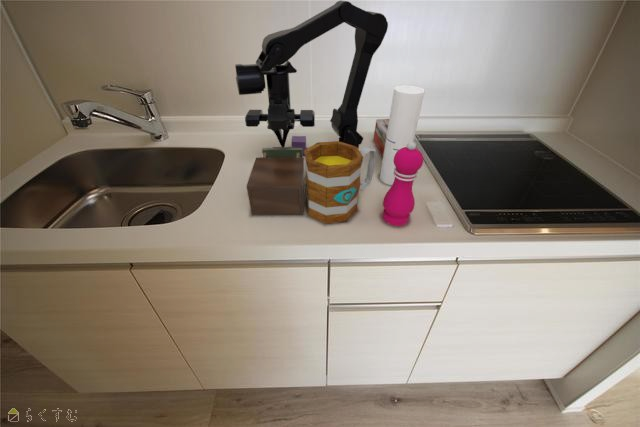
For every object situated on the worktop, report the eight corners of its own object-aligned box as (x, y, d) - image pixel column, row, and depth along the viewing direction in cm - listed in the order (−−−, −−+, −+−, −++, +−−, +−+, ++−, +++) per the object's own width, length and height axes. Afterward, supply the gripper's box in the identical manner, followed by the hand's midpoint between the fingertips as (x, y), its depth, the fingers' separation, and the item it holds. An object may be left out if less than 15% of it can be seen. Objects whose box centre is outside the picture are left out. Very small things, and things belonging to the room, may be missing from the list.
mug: (322, 231, 66) (323, 175, 57) (295, 201, 75) (292, 149, 66) (386, 204, 74) (396, 152, 65) (354, 180, 83) (359, 131, 74)
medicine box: (372, 139, 104) (375, 118, 99) (394, 139, 105) (398, 117, 100) (384, 160, 93) (387, 136, 88) (408, 159, 93) (413, 135, 88)
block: (306, 148, 99) (305, 136, 96) (305, 154, 95) (305, 142, 92) (292, 148, 99) (292, 136, 96) (292, 154, 95) (291, 142, 92)
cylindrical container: (389, 169, 88) (404, 83, 73) (409, 178, 84) (430, 89, 69) (374, 178, 84) (388, 89, 69) (395, 188, 80) (414, 96, 65)
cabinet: (260, 184, 81) (255, 157, 76) (304, 184, 81) (303, 157, 76) (251, 215, 71) (246, 186, 65) (302, 215, 71) (301, 185, 66)
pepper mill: (377, 209, 73) (389, 134, 60) (404, 208, 73) (423, 133, 61) (384, 228, 67) (400, 150, 55) (414, 226, 68) (436, 149, 55)
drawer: (267, 160, 90) (264, 140, 86) (303, 160, 90) (302, 140, 86) (259, 192, 77) (255, 170, 73) (301, 192, 77) (300, 170, 73)
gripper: (236, 101, 69) (246, 159, 78) (314, 101, 69) (314, 159, 79) (245, 87, 77) (253, 142, 87) (314, 88, 77) (314, 142, 87)
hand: (283, 146), depth 85 cm, fingers closed
